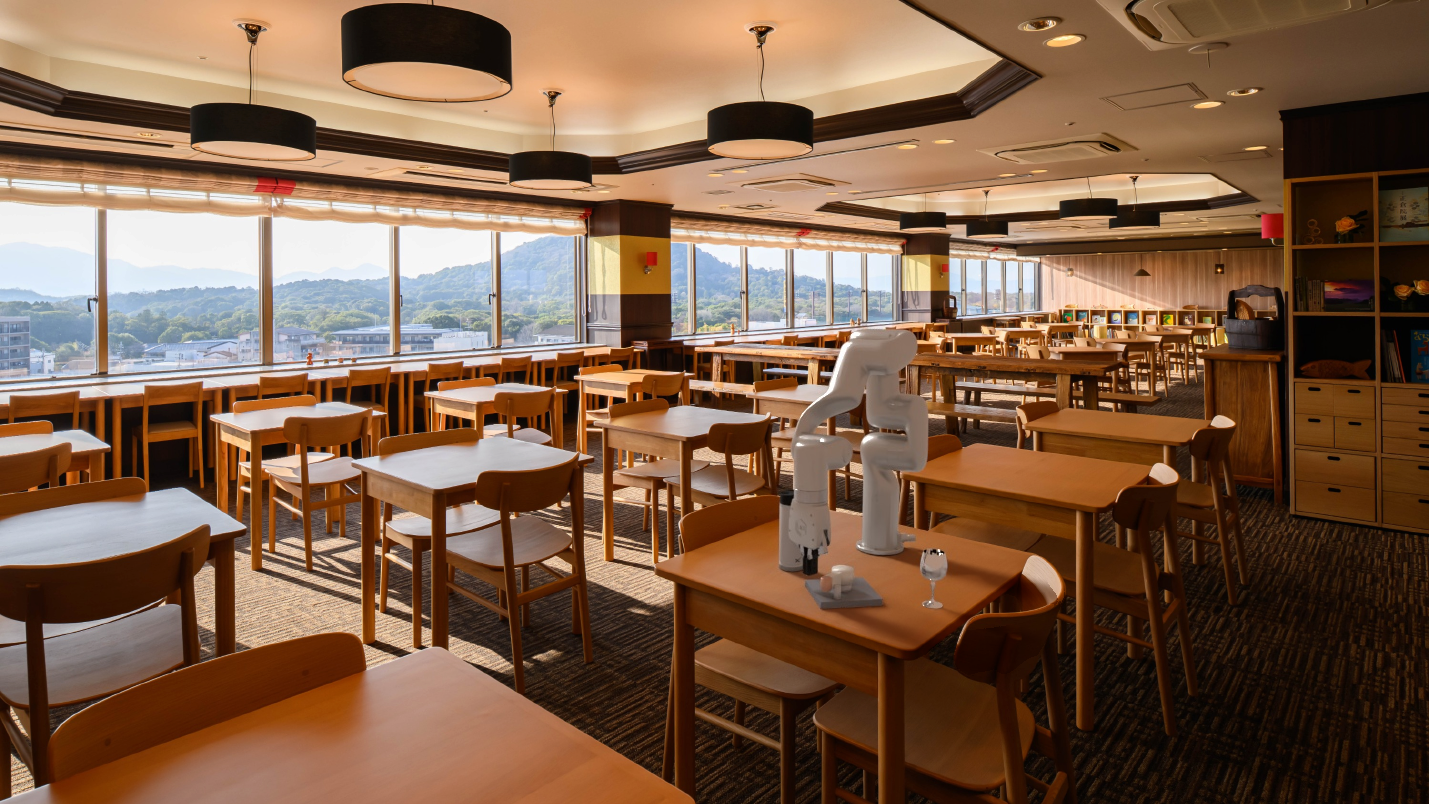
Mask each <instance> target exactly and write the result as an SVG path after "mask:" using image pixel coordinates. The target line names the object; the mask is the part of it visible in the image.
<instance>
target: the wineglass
mask: <svg viewBox="0 0 1429 804" xmlns="http://www.w3.org/2000/svg"><path fill="white" fill-rule="evenodd" d="M947 560H948V559H947V554H946V551H944V550H943V549H938V548H925V549H923V551H922V554H921V557H920V564H919V570H920V573H921V576H922V577H924V578H925V580H926V579H927V580H929V581H931V582H930V589H931V598H930V599H928V600H925V601H922V602H921V605H922V606H923V607H925V608H927V609H933V610H934V609H935V610H937V609H941V608H943V605H944V604H943V603H941V602H939V601H937V600H935V597H934V596H935V593H934V592H935V588H936V582H937V581H941V580H943V579H944V578H945V577H946V575H947V574H948V561H947Z"/></svg>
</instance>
